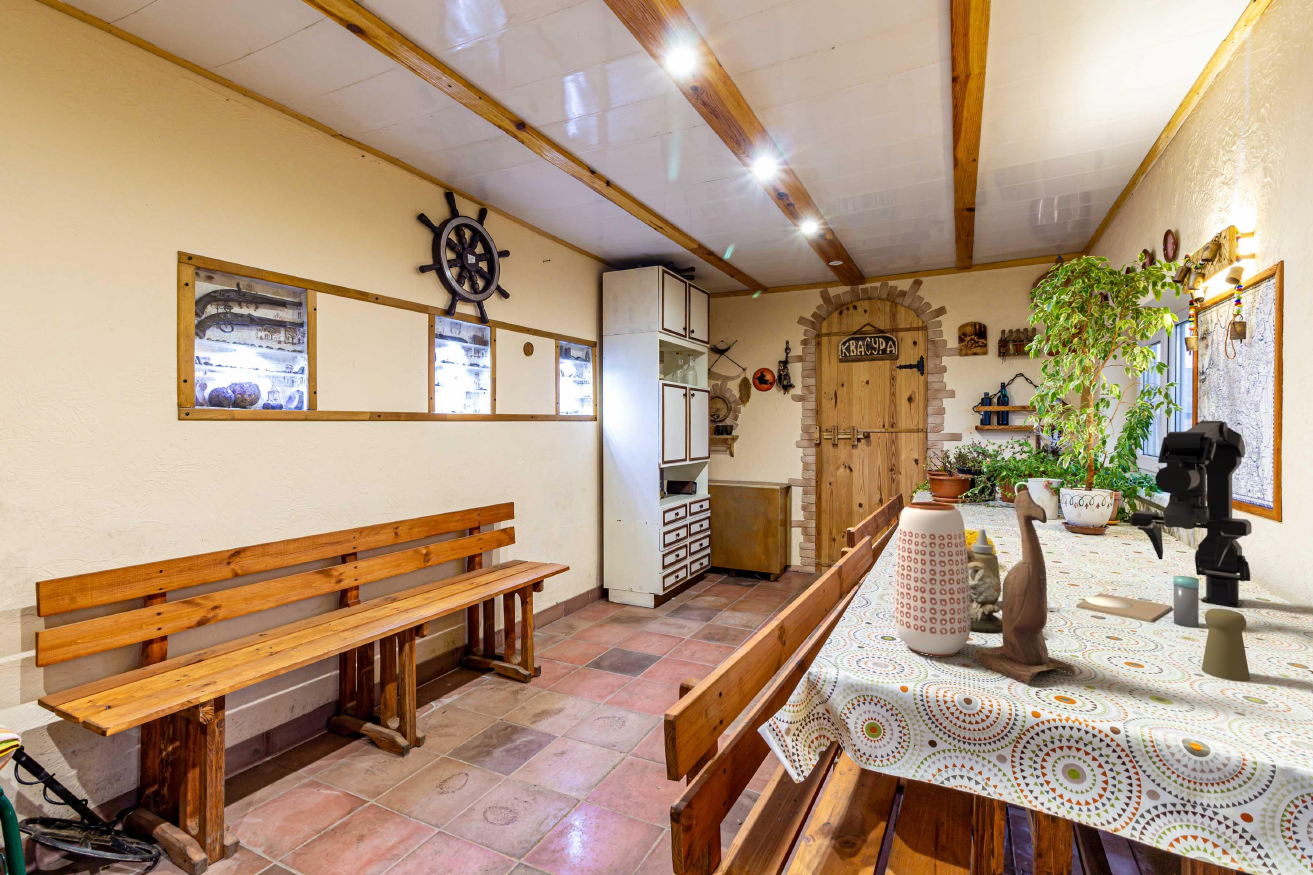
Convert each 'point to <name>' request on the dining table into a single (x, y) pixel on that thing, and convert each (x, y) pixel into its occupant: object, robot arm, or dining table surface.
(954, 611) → the patterned ceramic vase
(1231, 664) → the cork
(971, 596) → the owl figurine
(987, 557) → the squeeze bottle
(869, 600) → the dining table surface
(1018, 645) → the bird sculpture
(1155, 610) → the kraft pad
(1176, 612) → the marker
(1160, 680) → the dining table surface
